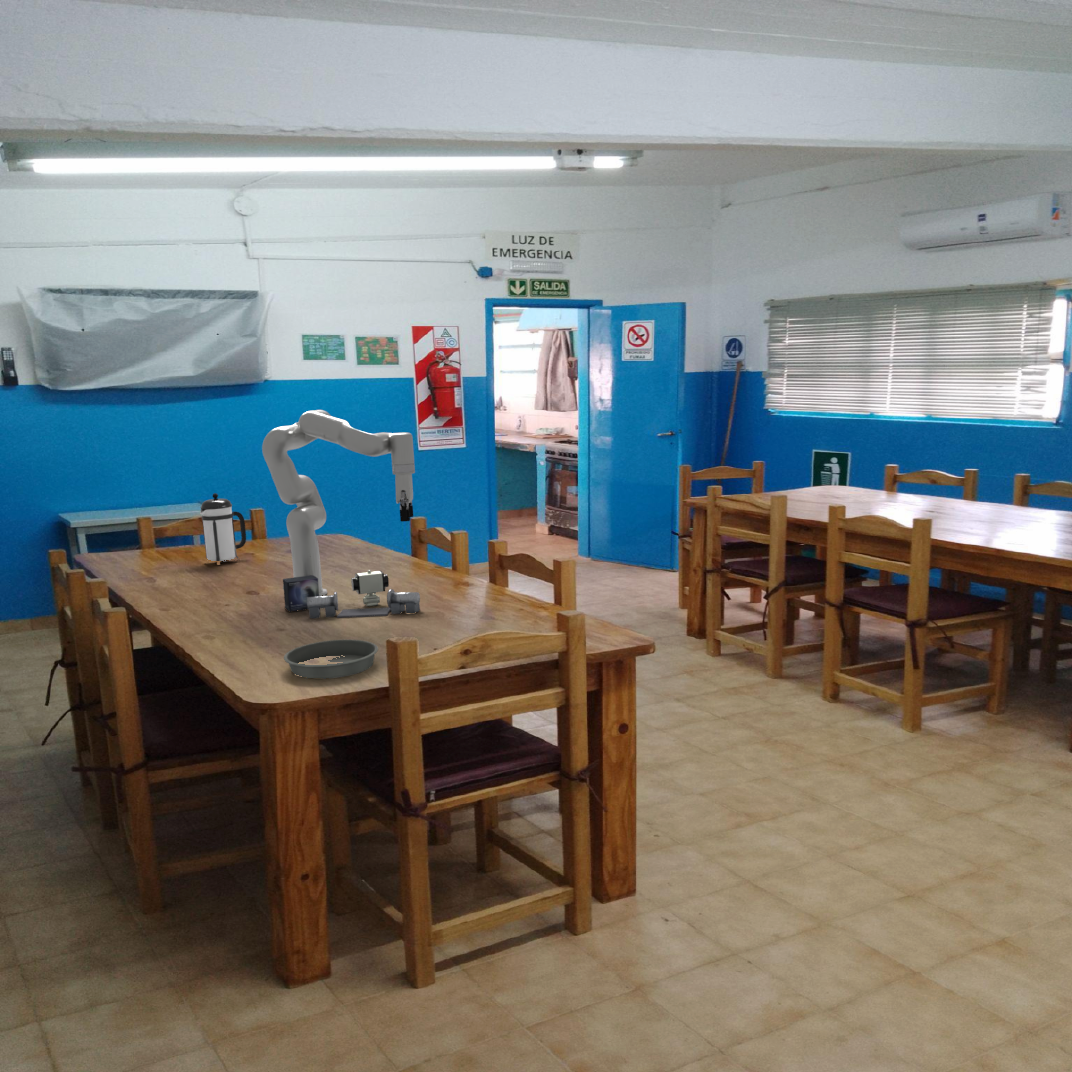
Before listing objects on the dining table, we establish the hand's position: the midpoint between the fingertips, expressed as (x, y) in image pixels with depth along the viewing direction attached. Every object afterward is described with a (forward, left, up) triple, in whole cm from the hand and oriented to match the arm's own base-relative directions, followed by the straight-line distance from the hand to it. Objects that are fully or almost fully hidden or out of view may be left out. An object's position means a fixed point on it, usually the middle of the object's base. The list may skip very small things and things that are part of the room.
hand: (407, 519), depth 352 cm
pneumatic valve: (-12, -12, -27) cm, 32 cm away
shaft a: (-25, -25, -27) cm, 45 cm away
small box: (-35, -13, -27) cm, 46 cm away
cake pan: (-9, -84, -27) cm, 89 cm away
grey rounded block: (+1, -25, -27) cm, 37 cm away
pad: (-12, -24, -27) cm, 38 cm away
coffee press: (-93, +82, -27) cm, 127 cm away
